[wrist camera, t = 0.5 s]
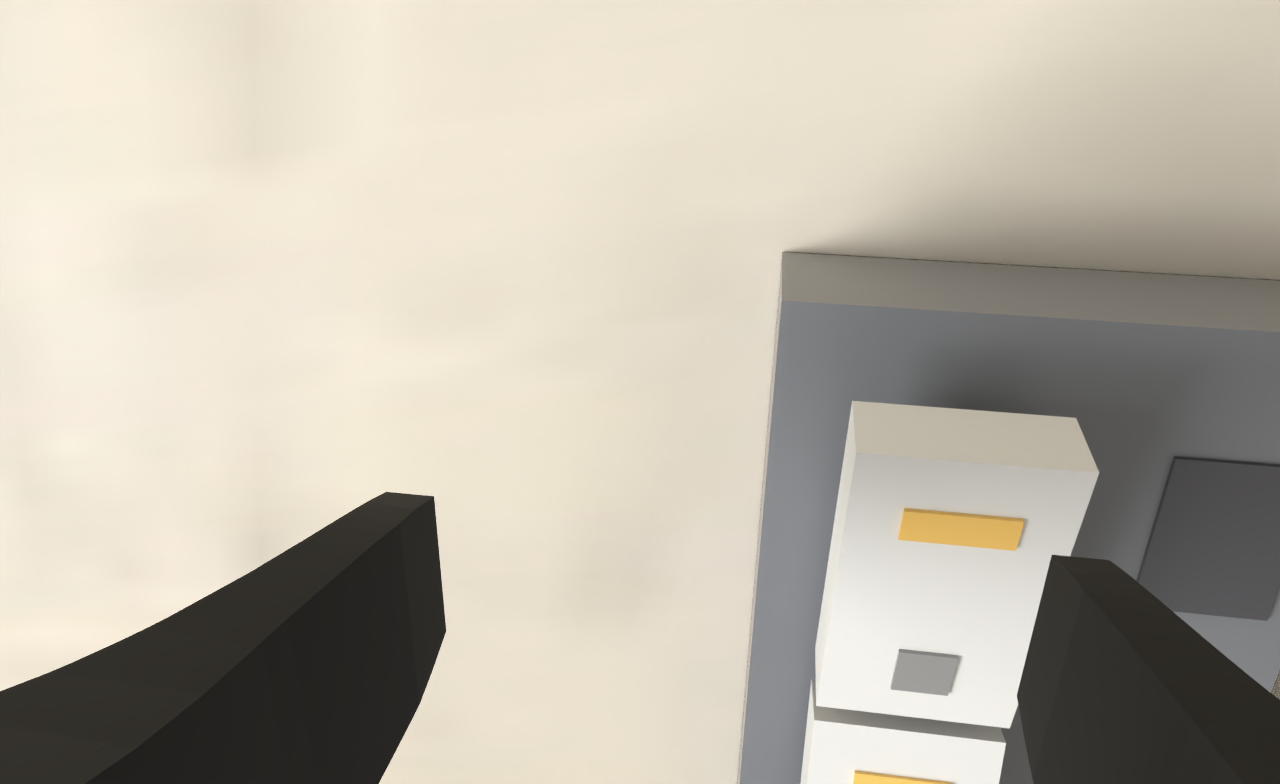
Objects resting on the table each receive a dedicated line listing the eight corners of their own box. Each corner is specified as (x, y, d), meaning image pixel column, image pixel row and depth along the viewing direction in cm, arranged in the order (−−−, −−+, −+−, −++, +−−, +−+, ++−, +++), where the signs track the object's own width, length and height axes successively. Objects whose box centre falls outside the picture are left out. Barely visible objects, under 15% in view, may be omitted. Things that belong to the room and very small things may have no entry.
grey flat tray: (1066, 1006, 27) (1099, 1127, 24) (722, 954, 28) (715, 1063, 25) (1315, 282, 17) (1415, 342, 15) (782, 252, 19) (781, 302, 16)
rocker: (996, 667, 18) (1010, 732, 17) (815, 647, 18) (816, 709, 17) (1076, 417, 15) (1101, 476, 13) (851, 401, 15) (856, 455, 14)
